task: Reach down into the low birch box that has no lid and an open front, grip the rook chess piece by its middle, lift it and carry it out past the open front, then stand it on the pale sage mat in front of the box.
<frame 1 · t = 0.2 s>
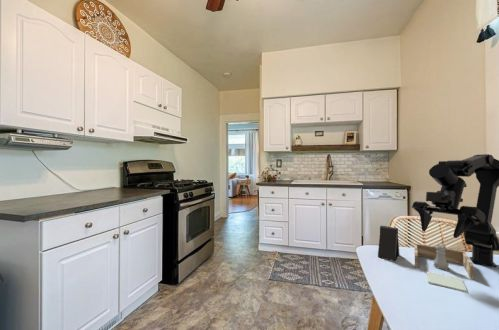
hand: (438, 234, 75), 15 cm above the table, tool tilted 30°, fingers open, 9 cm apart
open box: (440, 265, 85), on the table
rook chess piece: (441, 267, 84), on the table
phone stand: (388, 256, 94), on the table
sage mat: (445, 281, 73), on the table
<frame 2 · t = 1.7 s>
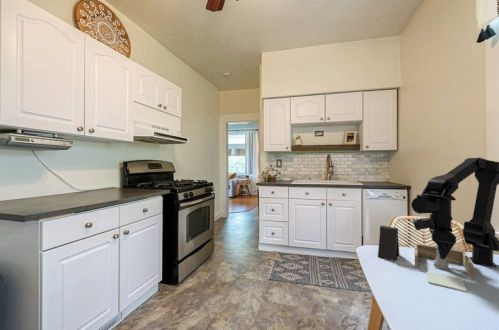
hand: (441, 254, 84), 4 cm above the table, tool pointing down, fingers open, 9 cm apart
nothing on the table moved.
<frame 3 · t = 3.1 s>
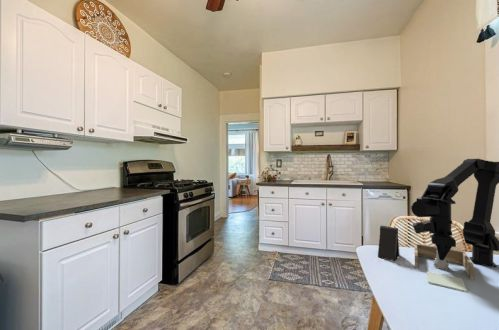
hand: (441, 258, 84), 3 cm above the table, tool pointing down, fingers closed on rook chess piece, 3 cm apart
rook chess piece: (441, 267, 84), on the table, touching gripper
everything else where it was.
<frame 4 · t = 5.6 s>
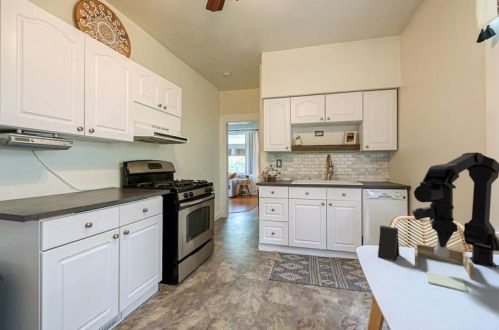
hand: (441, 245, 80), 9 cm above the table, tool pointing down, fingers closed on rook chess piece, 3 cm apart
rook chess piece: (441, 255, 80), point 6 cm above the table, touching gripper
everything else where it was.
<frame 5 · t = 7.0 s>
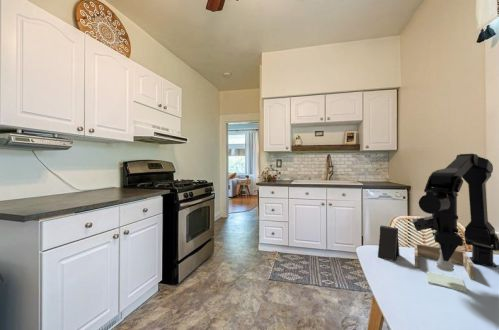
hand: (445, 259, 73), 7 cm above the table, tool pointing down, fingers closed on rook chess piece, 3 cm apart
rook chess piece: (445, 269, 73), point 4 cm above the table, touching gripper
everything else where it was.
when the fingers open (4 cm above the table, at t = 8.1 s): rook chess piece stays where it is, resting on sage mat.
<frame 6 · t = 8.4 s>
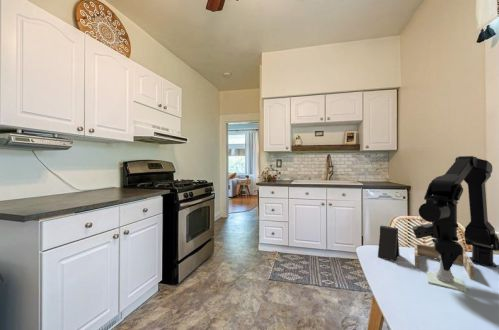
hand: (445, 267, 73), 5 cm above the table, tool pointing down, fingers open, 6 cm apart
rook chess piece: (445, 280, 73), resting on sage mat
everything else where it was.
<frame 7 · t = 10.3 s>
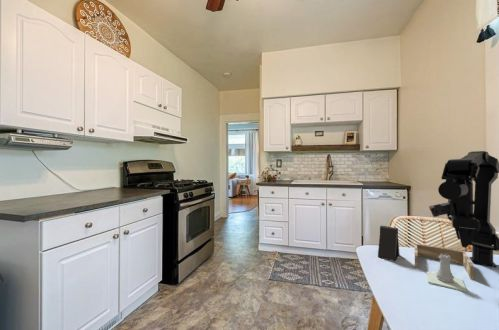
hand: (461, 242, 77), 11 cm above the table, tool pointing down, fingers open, 9 cm apart
nothing on the table moved.
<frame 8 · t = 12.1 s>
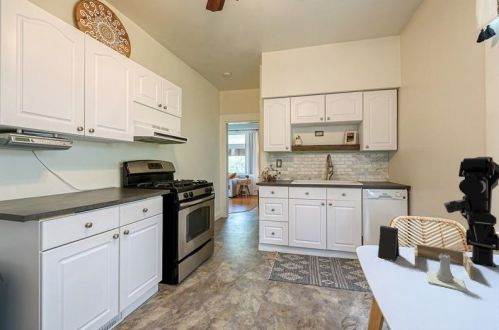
hand: (476, 238, 79), 12 cm above the table, tool pointing down, fingers open, 9 cm apart
nothing on the table moved.
at the end: rook chess piece inside the target area on the sage mat (0.1 cm from its centre), point 0.2 cm above the sage mat's base; rook chess piece tilted 0°; the gripper is holding nothing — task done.
